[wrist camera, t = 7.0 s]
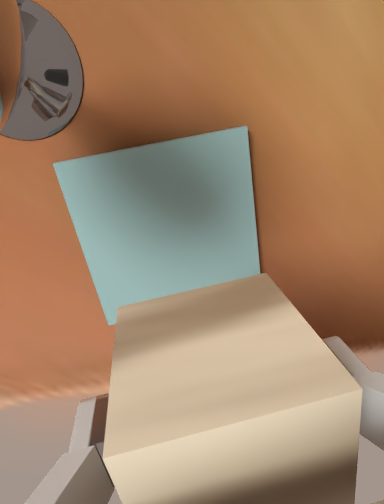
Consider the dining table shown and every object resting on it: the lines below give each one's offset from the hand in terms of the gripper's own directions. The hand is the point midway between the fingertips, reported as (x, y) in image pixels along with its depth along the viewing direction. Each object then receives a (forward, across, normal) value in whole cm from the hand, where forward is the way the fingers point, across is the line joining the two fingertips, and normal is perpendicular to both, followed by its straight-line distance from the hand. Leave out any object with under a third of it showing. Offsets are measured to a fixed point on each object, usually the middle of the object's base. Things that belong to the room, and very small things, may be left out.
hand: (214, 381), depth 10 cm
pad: (+14, 0, 0) cm, 14 cm away
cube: (+2, 0, 0) cm, 2 cm away
